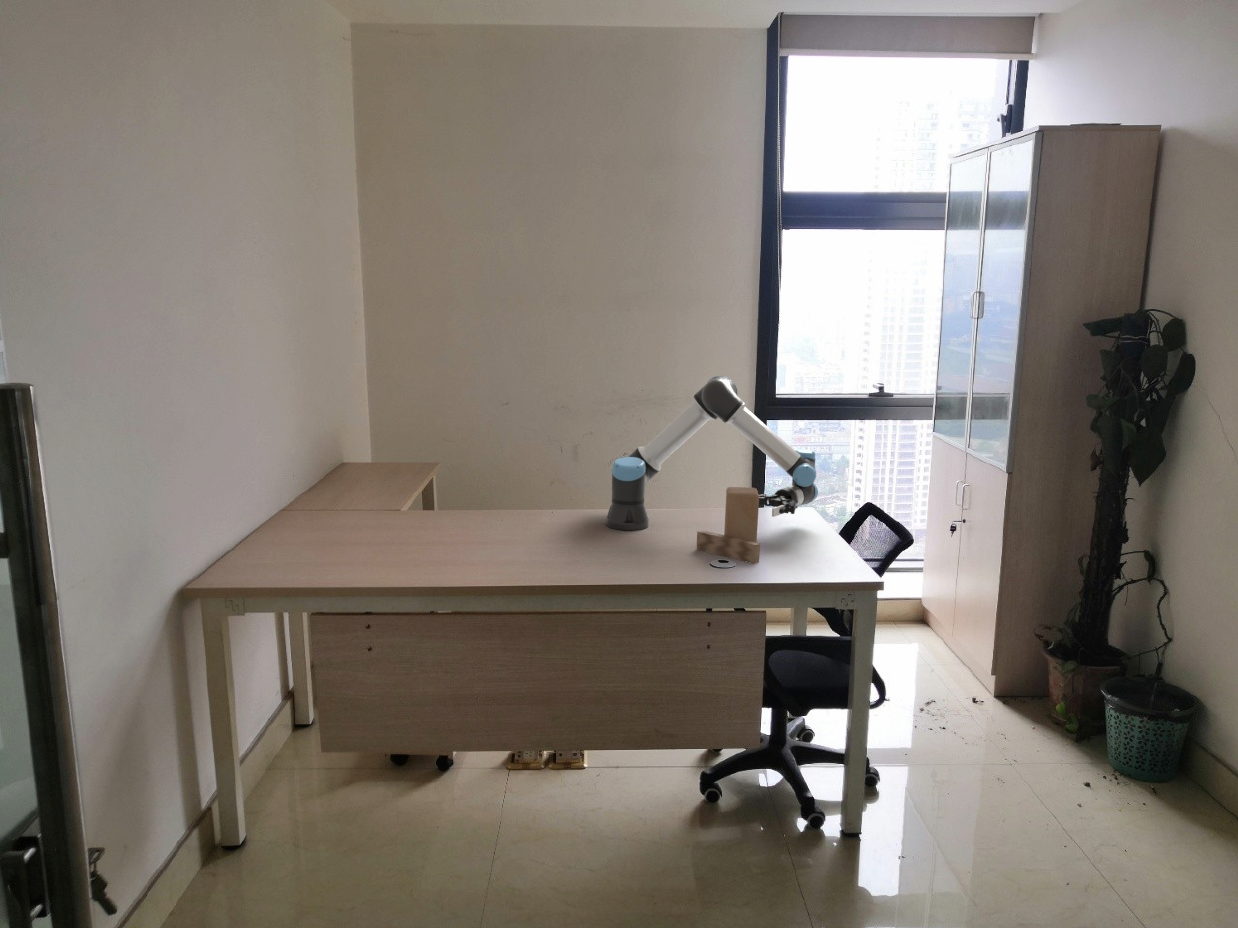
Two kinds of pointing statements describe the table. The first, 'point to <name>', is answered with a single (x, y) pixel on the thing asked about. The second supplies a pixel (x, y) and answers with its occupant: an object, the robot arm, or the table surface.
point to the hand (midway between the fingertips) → (755, 508)
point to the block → (741, 513)
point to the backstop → (728, 546)
